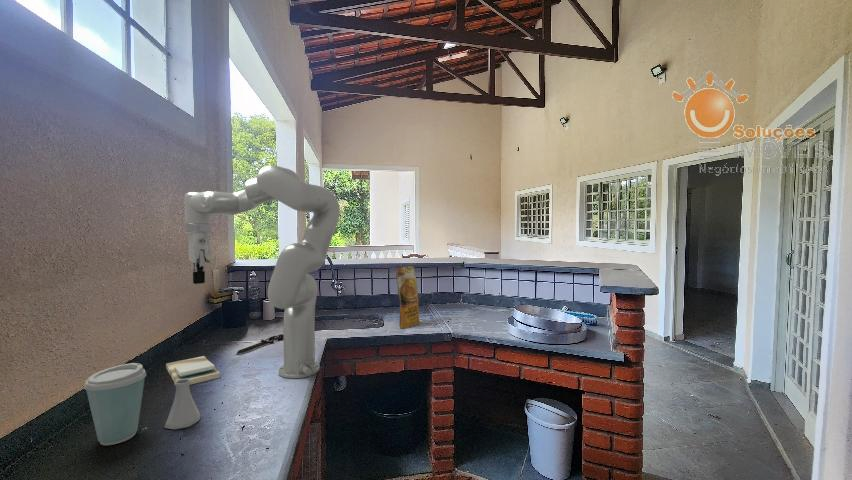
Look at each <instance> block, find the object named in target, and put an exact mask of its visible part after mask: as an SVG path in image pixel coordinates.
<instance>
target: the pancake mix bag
mask: <svg viewBox="0 0 852 480" xmlns="http://www.w3.org/2000/svg"><path fill="white" fill-rule="evenodd" d="M395 272H396V273H395V274H396V275H395V276H396V278H395V279H396V283H397V284H396V285H397V294H398V297H399V325H398V326H399V327H400V328H402V329H409V328H411V327H410V326H412V325H414V326H415V324H416V325H418V324H420V323H419V322H421V321H420V313H419V312H420V311H419V308H420V307H419V290H418V283H417V276H416V272H415V267H414V265H408V266H401V267H398V268H397V269H396V271H395ZM417 323H418V324H417ZM408 327H409V328H408ZM412 327H413V326H412ZM400 328H399V329H400Z"/></svg>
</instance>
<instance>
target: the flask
mask: <svg viewBox="0 0 852 480" xmlns="http://www.w3.org/2000/svg"><path fill="white" fill-rule="evenodd" d="M190 380H191V379H187V378H186V379H180V380H177V381H175V383H174V387H175V394H174V398H173V402H172V405H171V409H170V411H169V413H168V417H167V419H166V422H165V424H164V429H170V430H179V429H185V428H190V427H191V426H193V425H195V424H197V422H199V421H200V419H201V416H202V415H201V413H200V410H199V409H198V406H197V405H196V403H195V402H196V401H194V398H193V397H192V394H191V389H190V385H189V383H190Z"/></svg>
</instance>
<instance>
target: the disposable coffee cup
mask: <svg viewBox="0 0 852 480" xmlns="http://www.w3.org/2000/svg"><path fill="white" fill-rule="evenodd" d="M146 377H147V372H146V370H145V368H144V366H143V364H141V363H137V362H130V363H124V364H123V363H122V364H120V365H115V366H111V367H108V368H106V369H103V370H100V371H97V372H95V373H93V374H92V375H91V376H88V377H87V379H86V380H85V381H84V385H83V386H84V390H86V394H87V400H88V403H89V409H90V411H91V417H92V420H93V425H94V429H95V434H96V438H97V442H99V444H100V445H102V446H105V447H106V446H112V445H116V444H120V443H123V442H124V443H125V442H126V441H128V440H131V439H132V438H133V437H134V436H135V435H136V434H137V431H138V430H139V429H138V427H139V420H140V414H141V407H142V401H143V400H142V399H143V392H144V386H145V380H146V379H145V378H146Z"/></svg>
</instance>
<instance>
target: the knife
mask: <svg viewBox="0 0 852 480" xmlns="http://www.w3.org/2000/svg"><path fill="white" fill-rule="evenodd" d="M260 341H261V342H258V343H255V344H253V345H250V346H247V347H245V348H242V349H239V350H238V351H237V352H236V353H235V354H234V356H237V355H244V354H247V353H249V352H252V351H255V350H257V349H260V348H262V347H265V346H267V345H271V344H272V345H274V344H275V341H277V342H280V341H284V333H282V334H278V335H273V336H270V337H268V338H266V339H260Z"/></svg>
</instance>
